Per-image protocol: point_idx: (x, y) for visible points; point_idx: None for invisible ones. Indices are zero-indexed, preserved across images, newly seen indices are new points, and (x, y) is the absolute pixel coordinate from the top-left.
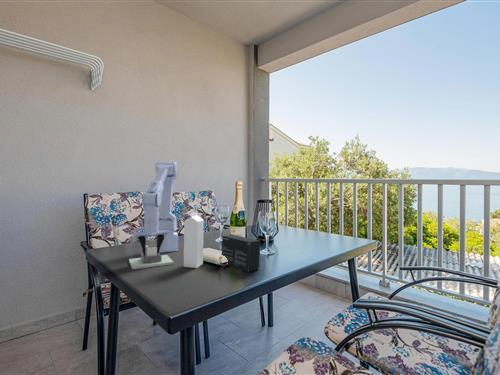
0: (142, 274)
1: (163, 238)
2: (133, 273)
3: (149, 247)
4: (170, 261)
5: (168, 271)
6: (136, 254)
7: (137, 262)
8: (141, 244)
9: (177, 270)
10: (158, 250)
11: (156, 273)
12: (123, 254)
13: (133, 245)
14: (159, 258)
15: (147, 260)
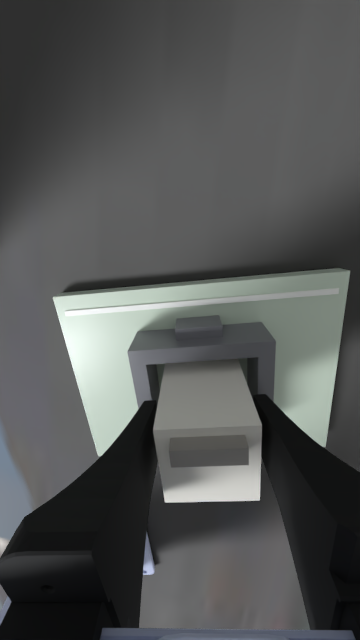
0: (298, 106)
1: (26, 524)
2: (354, 164)
3: (233, 428)
4: (74, 310)
5: (96, 115)
6: (256, 526)
7: (293, 362)
8: (347, 465)
9: (26, 117)
10: (143, 412)
11: (191, 92)
12: None
13: None
14: (146, 340)
15: (236, 332)
